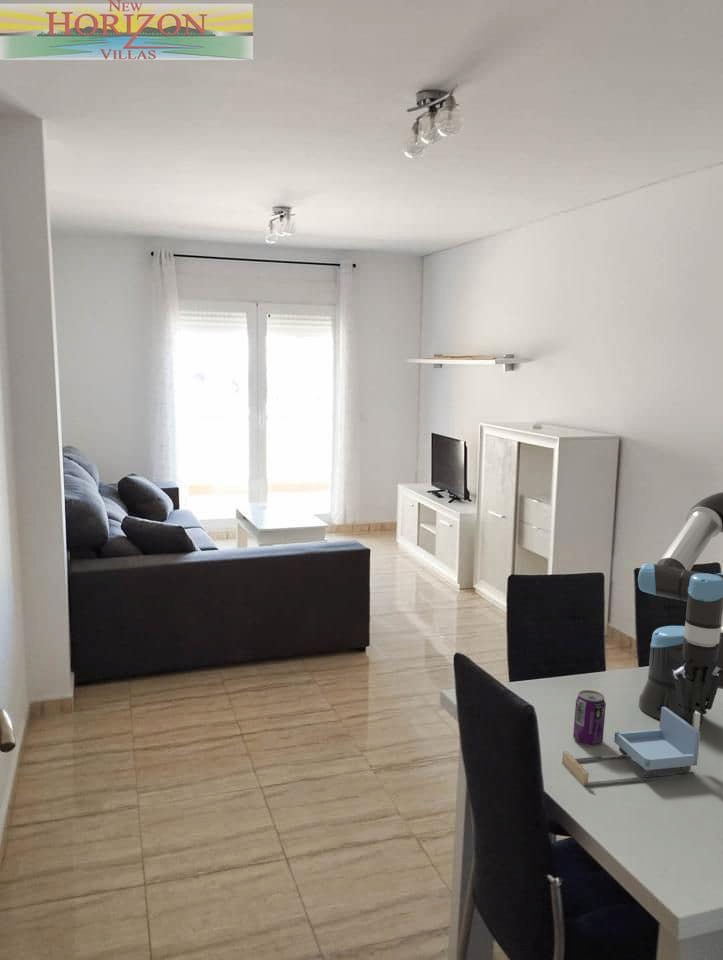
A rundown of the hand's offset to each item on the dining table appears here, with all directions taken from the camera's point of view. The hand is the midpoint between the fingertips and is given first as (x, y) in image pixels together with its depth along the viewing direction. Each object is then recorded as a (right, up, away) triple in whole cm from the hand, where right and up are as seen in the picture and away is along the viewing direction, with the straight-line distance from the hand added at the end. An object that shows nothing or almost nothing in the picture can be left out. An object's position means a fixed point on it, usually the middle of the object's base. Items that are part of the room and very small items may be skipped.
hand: (691, 737), depth 178 cm
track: (-16, -6, -2) cm, 17 cm away
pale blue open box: (-9, -6, -1) cm, 11 cm away
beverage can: (-21, -5, +10) cm, 24 cm away
